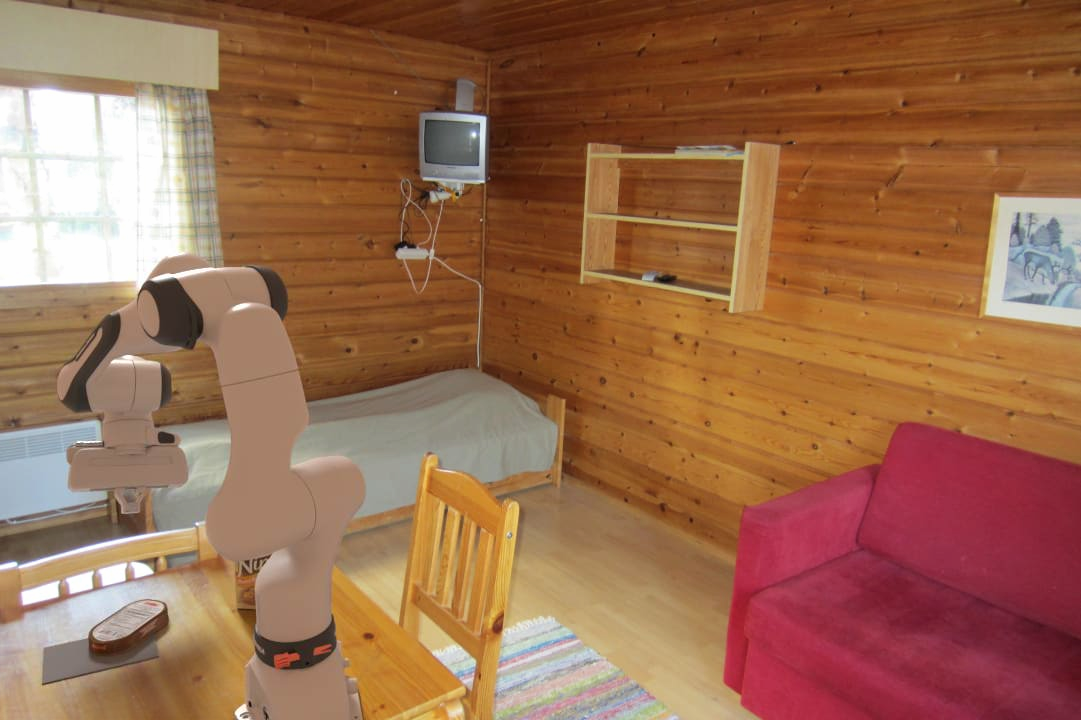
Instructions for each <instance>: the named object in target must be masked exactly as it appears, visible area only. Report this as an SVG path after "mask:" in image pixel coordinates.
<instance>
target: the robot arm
mask: <svg viewBox="0 0 1081 720" xmlns="http://www.w3.org/2000/svg"><path fill="white" fill-rule="evenodd" d="M288 293H289V292H288V289H287V286H286V284H285V282H284V280H283V278H282V277H281V276H280V275H279V273H277V272H276V271H275V270H274V269H272V268H271V267H267V266H263V265H261V266H260V265H253V264H248V265H245V266H241V267H239V266H237V267H236V266H235V267H234V266H233V267H232V266H230V267H228V266H227V267H226V266H225V267H213V266H212V264H211V263H210V262H209V261H208V260H206V259H205V258H203V257H202V256H200V255H198V254H195V253H192V252H184V251H180V252H179V251H178V252H173V253H171V254H169V255H166V256H165V257H164V258H162V259H161V260H160V261H159V263H157V264H156V266H155V267H154V268H153V270H151V272H150V274H149V275H148V276H147V278H146V280H145V281H144V282H143V284H141V287H140V289H139V291H138V294H137V297H135V298H134V299H133V300H132V301H130V303H128V304H127V305H124V306H123V307H121V308H119V309H117V310H114V311H112V312H109V313H108V314H106V315H105V316H104V317H103V318H101V320H100V321H99V322H98V324H97V325H96V326H95V327H94V329H93V331H92V332H91V333H90V334H89V336H88V337H87V338H86V340H85V341H84V342H83V344H82V345H81V347H80V348H79V349H78V351H77V352H76V353H75V355H73V356H72V357H71V358H70V359H68V360H67V361H66V362H65V363H64V364H63V365H62V367H61V370H60V372H59V374H58V378H57V382H56V389H57V391H56V392H57V396H58V400H59V402H60V403H61V404H62V405H63V406H64V407H66V409H68V410H69V411H71V412H73V413H74V414H83V413H85V414H86V413H93V412H103V413H104V419H103V422H102V425H101V426H102V440H94V441H92V440H91V441H80V440H79V441H76V442H75V443H72V444H70V445H69V447H68V448H67V449H66V454H65V455H66V456H65V457H66V462H67V463H68V465H69V469H68V470H69V471H68V476H67V488H68V490H70V492H72V493H85V492H86V493H91V492H92V493H93V492H110V491H112V492H113V494H114V495H113V496H114V498H115V500H116V501H117V502H118V503H119V505H120V513H121V514H123V515H125V514H126V515H127V514H138V513H140V512H141V502H142V500H143V499H144V498H145V496H146V494H147V490H151V489H171V488H172V489H173V488H176V489H177V488H182V487H183V486H185V484H186V483H187V482H188V481H189V468H188V461H187V458H186V454H185V451H184V450H183V449H182V448H181V447H179V446H180V444H181V436H180V434H178V433H174V432H172V431H167V430H163V429H161V428H158V427H157V428H156V427H155V423H154V419H153V416H152V413H154V412H158V411H159V410H161V409H162V408H164V407H165V406H166V405H167V404H168V403H170V402H171V400H172V397H173V396H172V395H173V389H172V385H173V384H172V374H171V372H170V370H169V369H168V368H167V367H166V366H165V365H164V364H163V363H161V362H160V361H154V360H147V359H145V358H143V357H141V356H136V355H146V354H147V355H148V354H166V353H173V352H177V351H180V350H182V349H184V350H187V351H188V350H189V351H193V350H194V349H195V347H196V344H197V343H202V344H205V345H207V346H208V347H209V348H210V349H211V350H212V352H213V354H214V358H215V362H216V369H217V373H218V374H217V375H218V379H219V384H220V385H219V386H221V387H220V389H221V393H222V396H223V401H224V406H225V411H226V416H227V421H228V426H229V433H230V434H229V435H230V454H229V455H230V456H229V460H228V461H229V462H228V465H227V470H226V474H225V476H224V479H223V482H222V484H221V486H220V488H219V490H218V491H217V493H216V495H215V496H214V497H213V499H212V500H211V501H210V503H209V505H208V506H207V509H206V513H205V518H204V530H205V531H204V532H205V534H206V538H207V540H208V542H209V544H210V546H211V548H212V549H214V551H215V553H216V554H218V555H220V556H221V557H222V558H223V559H225V560H226V561H230V562H233V563H235V562H240V561H246V560H252V559H256V558H260V557H265V556H268V555H271V554H272V555H271V557H270V558H269V559H268V561H267V562H266V563H265V564H264V565H263V567H262V568H261V570H260V572H259V574H258V576H257V579H256V582H255V600H256V609H255V614H256V615H255V617H256V622H255V624H254V628H253V634H252V635H253V637H252V638H253V644H254V651H255V652H254V653H253V656H252V657H251V658H250V659H249V661H248V662H247V664H246V665H245V667H244V679H245V681H244V683H245V684H244V685H245V686H244V690H245V692H244V695H245V697H244V703H243V704H242V705H241V706H239V707H238V708H237V709H236V710H235V711H234V717H233V719H234V720H364V719H363V718H364V717H363V713H362V706H361V701H360V696H359V690H358V689H359V687H358V680H357V678H356V677H350V674H346V673H345V669H346V668H347V669H348V668H349V667H350V659H349V657H346V658H343V653H342V651H343V649H342V648H343V647H342V646H343V644H342V643H343V642H342V641H341V640H340V639H337V626H336V622H335V616H334V613H332V593H333V592H332V588H333V587H332V585H333V583H332V582H333V572H334V568H335V567H334V566H335V562H336V559H337V556H338V552H339V550H340V547H341V544H342V540H343V538H344V536H345V533H346V532H347V528H349V525H350V524H351V522H352V520H353V518H354V517H355V516H356V514H357V513H358V512H359V510H360V509H361V508H362V506H363V505H364V502H365V499H366V495H367V484H366V479H365V476H364V474H363V472H362V470H361V469H360V467H359V466H358V465H357V464H356V463H355V462H354V461H353V460H352V459H351V458H349V457H347V456H344V455H329V456H328V455H327V456H319V457H313V458H310V459H307V460H304V461H301V462H299V463H295V464H293V465H291V462H292V460H291V459H292V454H293V449H294V447H295V444H296V442H297V440H298V439H299V437H300V436H301V435H302V434H303V433H304V431H305V430H306V429H307V426H308V424H309V419H310V415H309V414H310V413H309V409H308V405H307V401H306V395H305V391H304V388H303V383H302V378H301V375H300V370H299V366H298V361H297V358H296V356H295V352H294V348H293V346H292V342H291V340H290V338H289V335H288V332H287V330H286V328H285V326H284V323H283V322H284V321H285V319H286V317H287V313H288V310H289V305H290V304H289V303H290V302H289V299H290V298H289V294H288ZM128 490H131V491H133V490H135V495H136V496H138V497H137V498H136V500H135V501H134V502H133V501H132V502H131V501H130V502H127V500H126V499H125V497H124V494H125V493H126V491H128Z"/></svg>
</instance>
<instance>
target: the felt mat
mask: <svg viewBox="0 0 1081 720" xmlns="http://www.w3.org/2000/svg"><path fill="white" fill-rule="evenodd" d="M155 634H156V632H154V633H153V634H152V635H150V636H149V637H147V638H146V639H145V640H143V641H142V642H141V643H139V644H138V645H137V646H135V647H134V648H132V649H130V650H128V651H126V652H123V653H120V654H116V655H109V656H101V655H96V654H93V653H91V652H90V651H89V648H88V646H89V641H88V637H87V638H83V639H82V638H81V639H77V640H74V641H67V642H64V643H60V644H59V643H58V644H55V645H50V646H46V647H45V646H44V647H43V660H42V675H41V676H42V679H41V685H46V684H50V683H54V682H58V681H62V680H68V679H72V678H75V677H80V676H84V675H88V674H93V673H97V672H101V671H105V670H109V669H110V670H111V669H113V668H118V667H122V666H127V665H131V664H135V663H138V662H143V661H147V660H152V659H156V658H159V655H160V654H159V650H158V645H157V638H156V635H155Z"/></svg>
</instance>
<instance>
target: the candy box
mask: <svg viewBox="0 0 1081 720" xmlns="http://www.w3.org/2000/svg"><path fill="white" fill-rule="evenodd" d="M271 555H272V554H271ZM271 555H268V556H265V557H260V558H256V559H252V560H246V561H240V562H234V581H235V603H236V604H235V606H236V609H243V610H246V609H247V610H256V600H255V582H256V579H257V576H258V574H259V572H260V570H261V568H262V567H263V565H264V564H265V563H266V562H267V561H268V559H269V558H270V557H271Z"/></svg>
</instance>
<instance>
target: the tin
mask: <svg viewBox="0 0 1081 720" xmlns="http://www.w3.org/2000/svg"><path fill="white" fill-rule="evenodd" d="M169 619H170V617H169V611H168V605H167V603H166V602H165V601H162V600H159V599H151V598H150V599H149V598H146V599H145V598H144V599H138V600H135V601H133V602H129V603H128V604H126V605H124V606H122V607H121V608H119V609H118V610H117V611H116V612H113V613H112V614H110V615H109V616H107V617H106V618H105V619H103V620H102V621H100V622H98V623H97V624H96V625H94V626H93V627H91V628H90V630H89V632H88V635H87V638H88V641H89V646H88V648H89V651H90V652H91V653H93V654H96V655H101V656H109V655H116V654H120V653H123V652H126V651H128V650H130V649H132V648H134V647H135V646H137V645H138V644H139V643H141V642H142V641H143V640H145V639H146V638H147V637H149V636H150V635H152V634H153V633H154V632H155V633H156V632H157V631H158V630H161V628H163V627H164V626H165V625H166V624H167V623H168V621H169Z"/></svg>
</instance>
